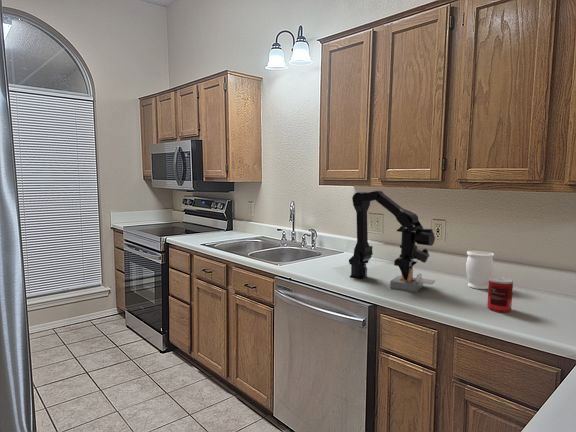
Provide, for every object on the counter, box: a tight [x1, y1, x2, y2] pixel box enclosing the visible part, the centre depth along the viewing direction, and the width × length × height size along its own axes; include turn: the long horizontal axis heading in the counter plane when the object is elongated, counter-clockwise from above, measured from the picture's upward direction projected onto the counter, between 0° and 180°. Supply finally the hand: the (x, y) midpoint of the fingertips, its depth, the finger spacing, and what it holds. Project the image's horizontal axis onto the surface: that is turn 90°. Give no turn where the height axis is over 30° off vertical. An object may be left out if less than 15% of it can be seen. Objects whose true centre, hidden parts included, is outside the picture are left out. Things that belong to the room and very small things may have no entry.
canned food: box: [486, 276, 514, 314], centre depth 144 cm, size 8×8×11 cm
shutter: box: [415, 273, 436, 286], centre depth 168 cm, size 6×6×3 cm
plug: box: [400, 268, 414, 282], centre depth 172 cm, size 4×3×8 cm
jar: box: [465, 250, 495, 290], centre depth 173 cm, size 11×10×15 cm
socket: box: [389, 275, 424, 293], centre depth 172 cm, size 11×11×3 cm
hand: (406, 278), depth 172 cm, fingers closed on plug, 3 cm apart
